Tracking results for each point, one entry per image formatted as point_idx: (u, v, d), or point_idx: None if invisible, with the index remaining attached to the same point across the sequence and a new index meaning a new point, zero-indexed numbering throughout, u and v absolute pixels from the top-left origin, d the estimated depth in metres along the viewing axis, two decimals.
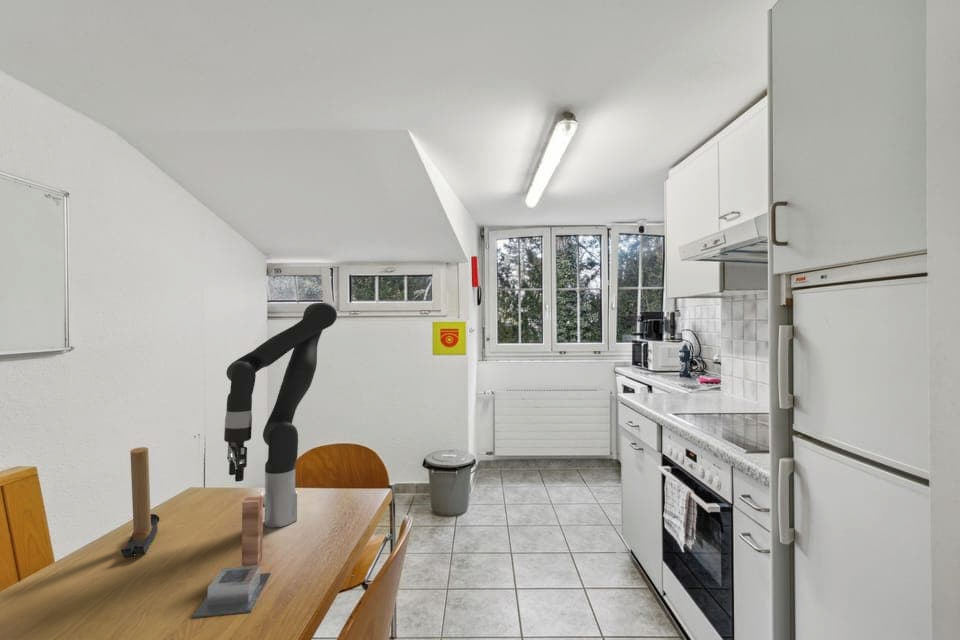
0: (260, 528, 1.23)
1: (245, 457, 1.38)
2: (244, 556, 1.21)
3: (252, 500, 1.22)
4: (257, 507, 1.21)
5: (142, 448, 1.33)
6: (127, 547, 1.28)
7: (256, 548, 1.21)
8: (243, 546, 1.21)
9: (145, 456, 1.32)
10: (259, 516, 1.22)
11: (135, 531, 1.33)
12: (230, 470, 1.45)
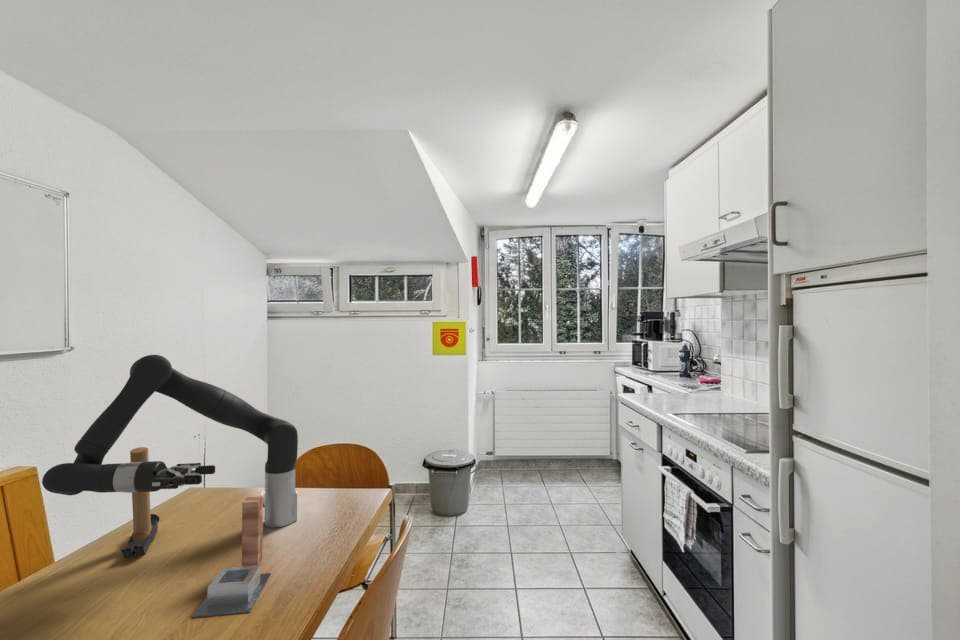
0: (260, 528, 1.23)
1: (163, 480, 1.13)
2: (244, 556, 1.21)
3: (252, 500, 1.22)
4: (257, 507, 1.21)
5: (142, 448, 1.33)
6: (127, 547, 1.28)
7: (256, 548, 1.21)
8: (243, 546, 1.21)
9: (145, 456, 1.31)
10: (259, 516, 1.22)
11: (135, 531, 1.33)
12: (208, 473, 1.25)
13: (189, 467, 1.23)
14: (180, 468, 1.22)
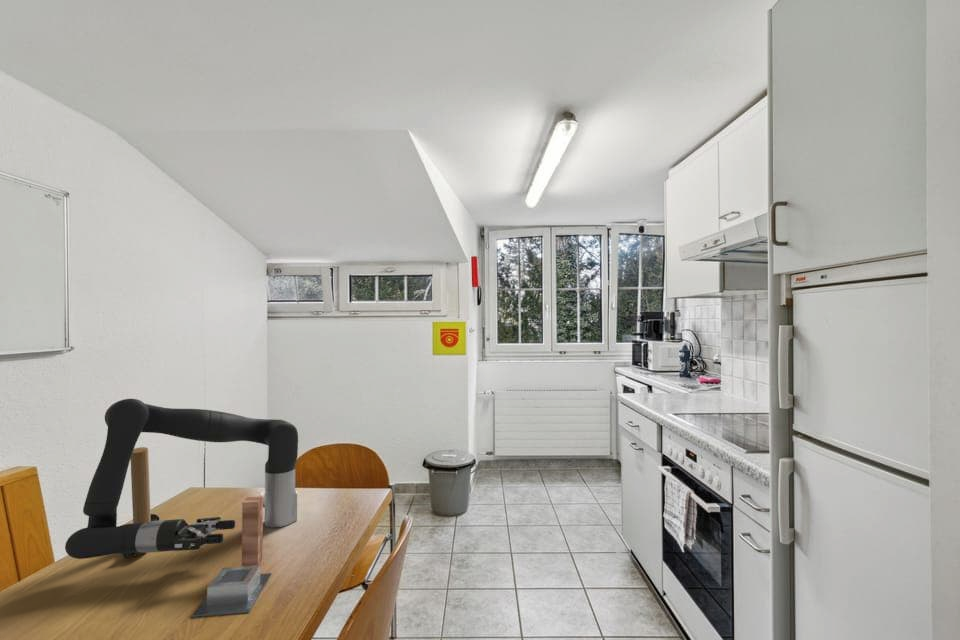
0: (260, 528, 1.23)
1: (186, 542, 1.14)
2: (244, 556, 1.21)
3: (252, 500, 1.22)
4: (257, 507, 1.21)
5: (142, 448, 1.33)
6: None
7: (256, 548, 1.21)
8: (243, 546, 1.21)
9: (145, 456, 1.31)
10: (259, 516, 1.22)
11: None
12: (228, 528, 1.25)
13: (209, 523, 1.24)
14: (201, 525, 1.22)
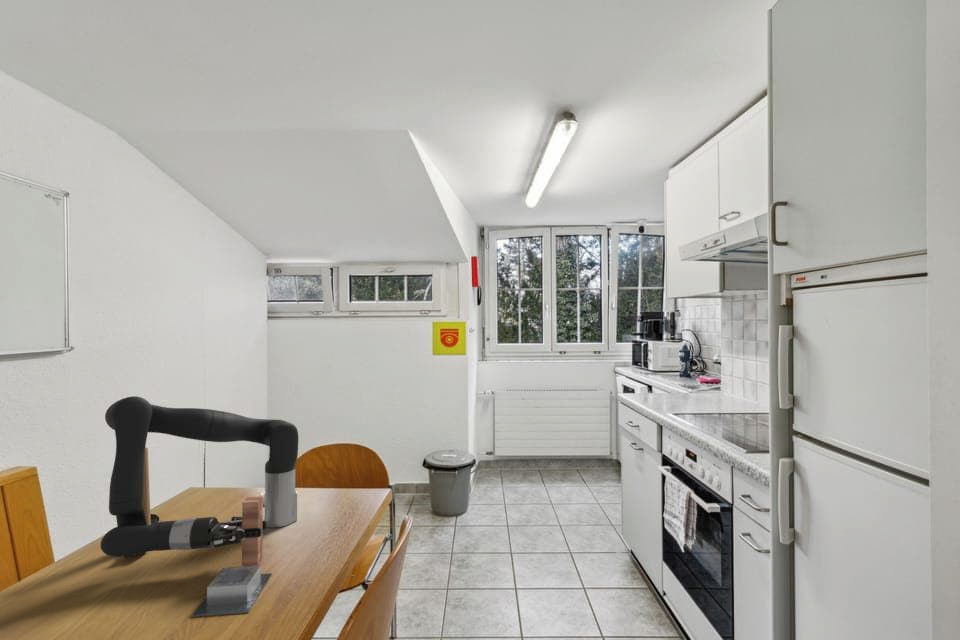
0: None
1: (227, 537, 1.16)
2: (244, 556, 1.21)
3: (252, 500, 1.22)
4: (257, 507, 1.21)
5: None
6: None
7: (256, 548, 1.21)
8: (243, 546, 1.21)
9: (145, 456, 1.31)
10: (259, 516, 1.22)
11: None
12: None
13: (240, 523, 1.24)
14: (231, 524, 1.23)
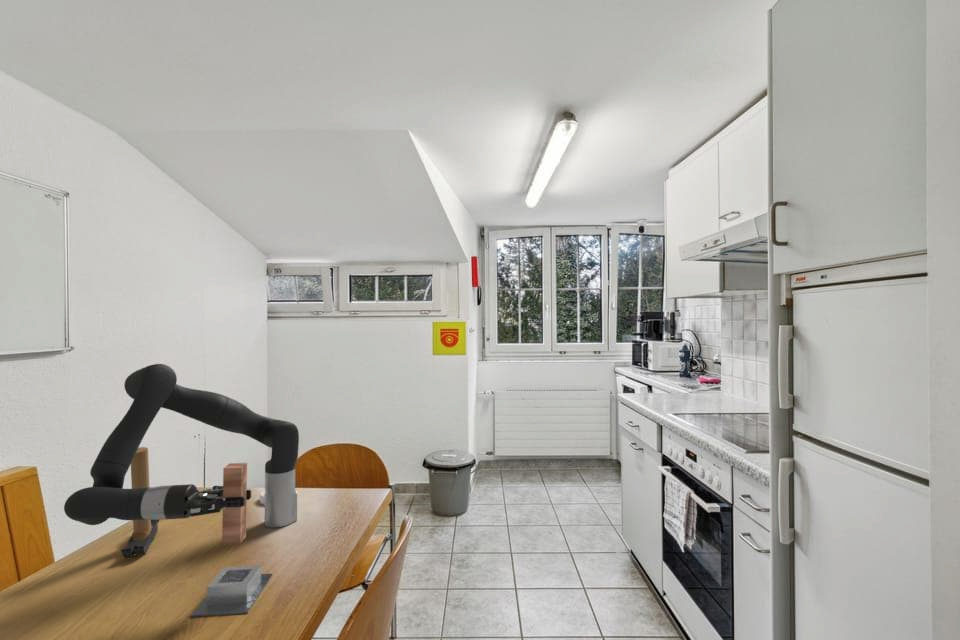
0: None
1: (205, 505, 1.04)
2: (225, 528, 1.08)
3: (235, 466, 1.10)
4: (240, 474, 1.09)
5: (142, 448, 1.33)
6: (127, 547, 1.28)
7: (238, 519, 1.08)
8: (224, 517, 1.08)
9: (145, 456, 1.31)
10: (242, 484, 1.10)
11: (135, 531, 1.33)
12: None
13: (221, 492, 1.11)
14: (211, 492, 1.10)
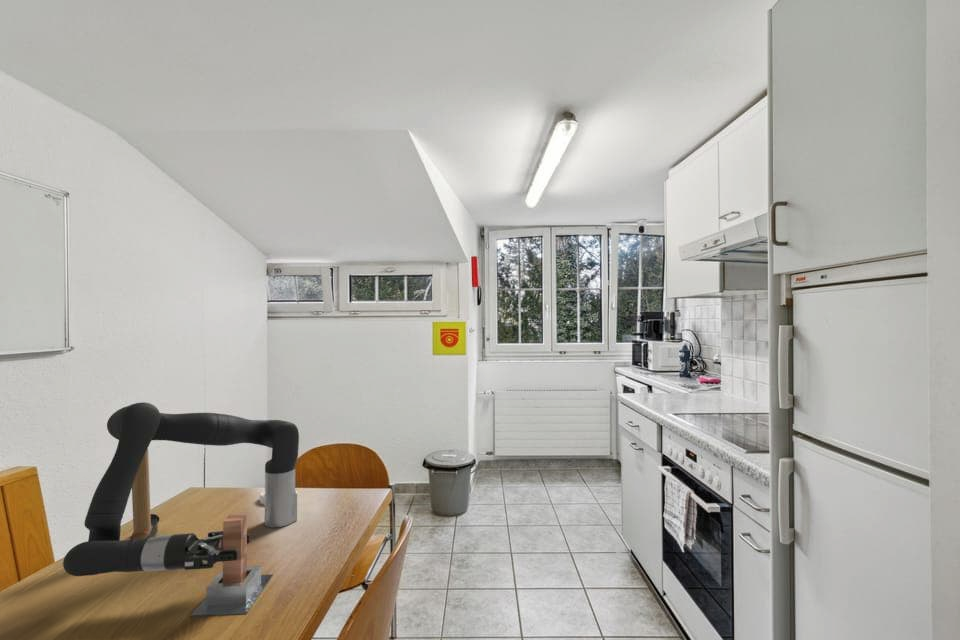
0: (243, 549, 1.11)
1: (197, 559, 1.02)
2: (225, 581, 1.08)
3: (234, 518, 1.10)
4: (240, 526, 1.09)
5: None
6: None
7: (239, 572, 1.08)
8: (224, 570, 1.08)
9: (145, 456, 1.31)
10: (242, 536, 1.10)
11: (135, 531, 1.33)
12: None
13: (222, 537, 1.12)
14: (213, 540, 1.11)
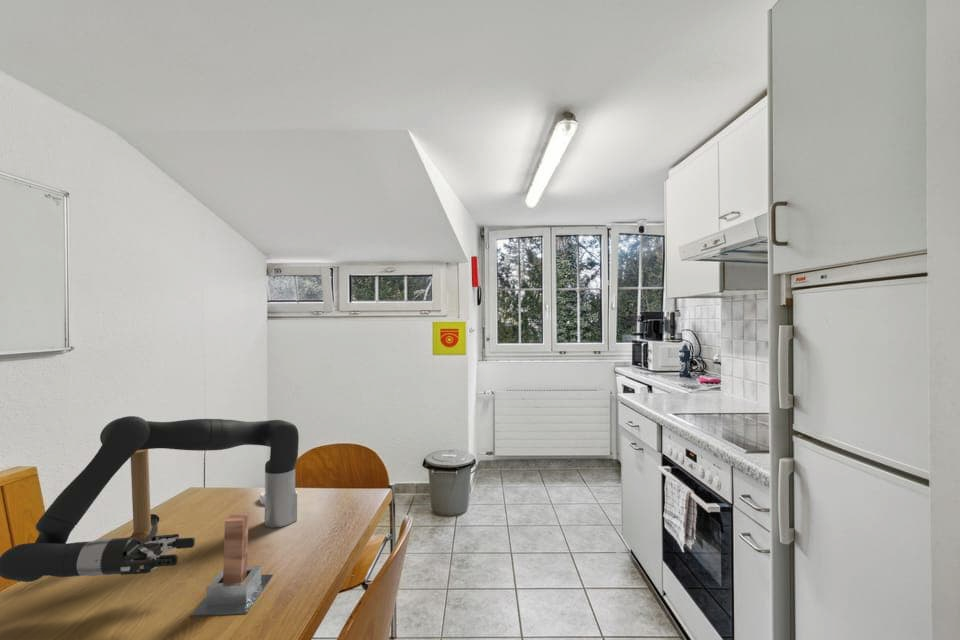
0: (244, 549, 1.11)
1: (134, 564, 1.00)
2: (226, 581, 1.08)
3: (236, 518, 1.10)
4: (241, 526, 1.09)
5: None
6: None
7: (239, 572, 1.08)
8: (225, 570, 1.08)
9: (145, 456, 1.31)
10: (243, 536, 1.10)
11: (135, 531, 1.33)
12: (186, 546, 1.12)
13: (165, 541, 1.10)
14: (154, 544, 1.09)
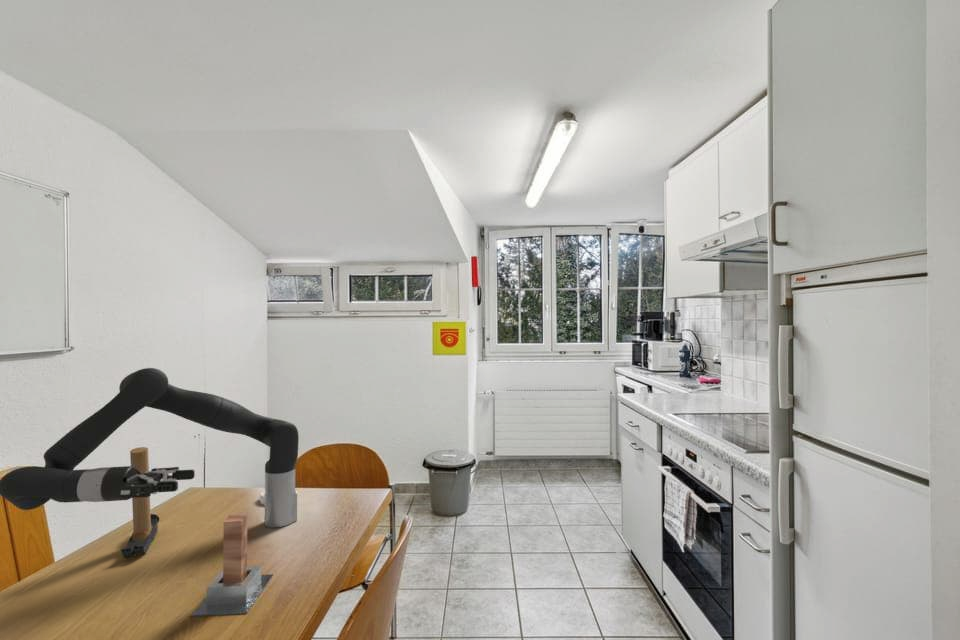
0: (244, 550, 1.10)
1: (134, 488, 1.00)
2: (226, 582, 1.08)
3: (235, 519, 1.09)
4: (240, 527, 1.08)
5: (142, 448, 1.33)
6: (127, 547, 1.28)
7: (239, 573, 1.08)
8: (225, 570, 1.08)
9: (145, 456, 1.32)
10: (243, 537, 1.09)
11: (135, 531, 1.33)
12: (186, 478, 1.12)
13: (165, 472, 1.10)
14: (154, 473, 1.09)
